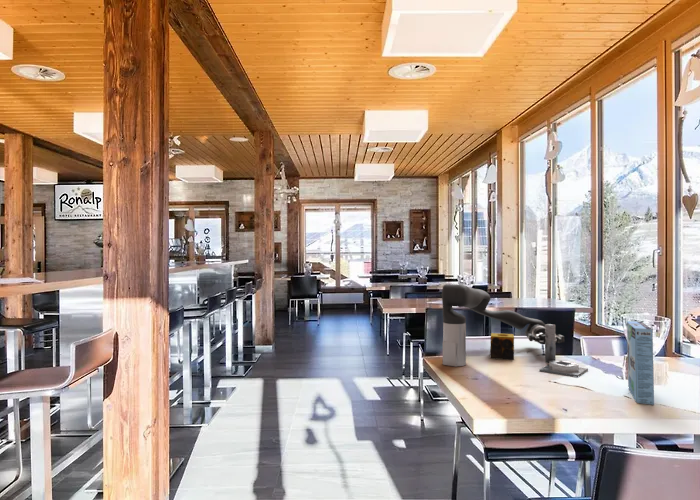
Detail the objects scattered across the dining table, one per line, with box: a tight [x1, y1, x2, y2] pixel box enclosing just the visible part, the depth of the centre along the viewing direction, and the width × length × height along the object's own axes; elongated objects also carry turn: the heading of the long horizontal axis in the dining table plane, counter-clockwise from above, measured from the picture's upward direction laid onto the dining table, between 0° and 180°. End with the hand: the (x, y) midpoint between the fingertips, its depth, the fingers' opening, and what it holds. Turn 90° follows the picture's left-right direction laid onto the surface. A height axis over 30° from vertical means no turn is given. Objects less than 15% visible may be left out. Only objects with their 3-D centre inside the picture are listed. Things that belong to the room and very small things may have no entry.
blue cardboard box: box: [626, 320, 655, 406], centre depth 152 cm, size 20×5×23 cm, turn 156°
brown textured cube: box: [489, 332, 515, 361], centre depth 211 cm, size 10×10×10 cm
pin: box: [544, 323, 556, 364], centre depth 200 cm, size 4×4×16 cm
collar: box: [538, 360, 589, 378], centre depth 185 cm, size 14×14×3 cm
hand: (549, 340), depth 202 cm, fingers open, 8 cm apart
